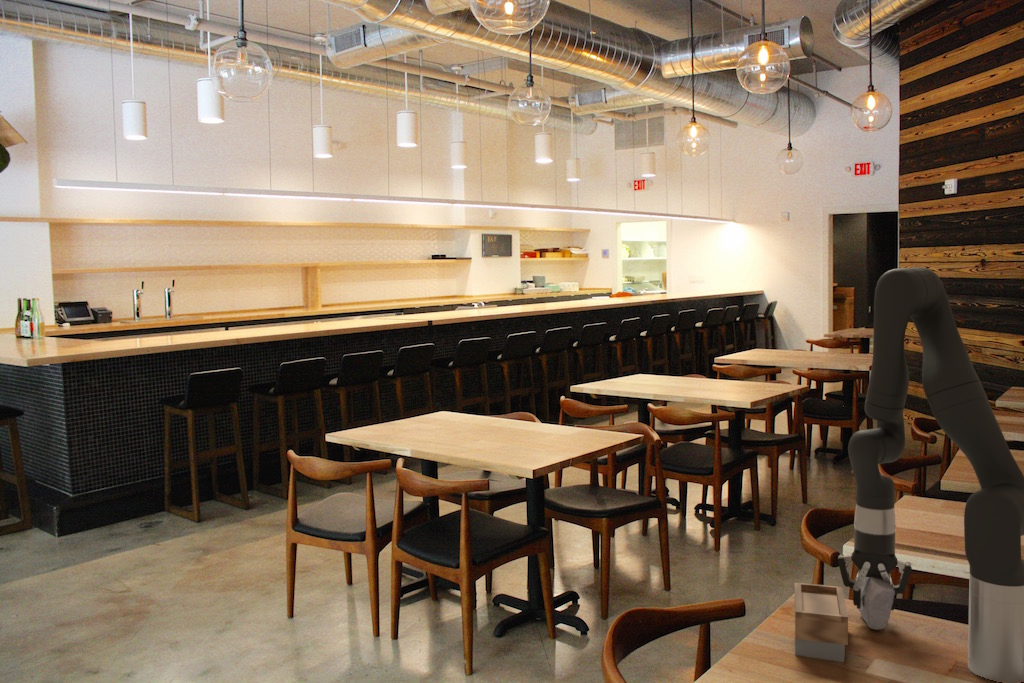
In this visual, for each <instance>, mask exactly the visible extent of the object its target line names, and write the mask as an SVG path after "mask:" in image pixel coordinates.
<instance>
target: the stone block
mask: <svg viewBox="0 0 1024 683" xmlns="http://www.w3.org/2000/svg"><path fill="white" fill-rule="evenodd" d="M860 588H861V609H857V610H858V611H859V613H860V615H861V617H862V618H863V620H864V621H865V622H866V624H867V626H868V628H869V629H872V630H877V631H878V630H880V631H881V630H882V629H886V626H887V624H888V621H889V620H890V618H891V614H892V612H891V611H892V610H891V608H892V604H893V599H894V594H895V591H894V589H893V588H892V586H891V585H890V584H889V583H886V582H884V581H883V579H879V578H876V577H866V576H865V579H864V581H863V582H862V585H861V587H860Z"/></svg>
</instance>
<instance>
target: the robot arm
mask: <svg viewBox="0 0 1024 683" xmlns="http://www.w3.org/2000/svg"><path fill="white" fill-rule="evenodd" d="M874 291H875V292H874V299H873V339H872V340H873V342H872V343H873V346H872V348H873V349H872V359H871V360H872V362H871V370H870V376H869V380H868V386H867V390H866V396H865V401H864V412H865V414H866V416H867V417H869V418H871V420H872V419H873V420H875V421H876V426H875V428H869V429H861V430H858V431H855V432H854V433H853V434H852V436H851V437H850V439H849V442H848V446H847V451H848V452H847V453H848V458H849V462H850V466H851V468H852V473H853V476H854V480H855V484H856V486H855V487H856V488H855V489H856V490H855V492H856V494H855V495H856V496H855V510H854V521H853V525H854V531H853V532H854V533H853V534H854V537H853V538H854V542H853V552H852V553H851V554H849V555H848V554H847V555H844V554H839V555H838V558H837V563H838V567H839V570H840V575H841V580H842V583H843V585H844V586H845V587H849V588H851V590H852V595H853V596H852V598H853V600H852V602H853V606H856V609H857V610H858V609H861V588H860V587H861V585H862V582H863V581H864V579H865V576H866V577H876V578H879V579H883V581H884V582H886V583H889V584H890V585H891V586H892V588H893V589H894V591H895V594H894V599H893V604H892V608H891V611H894V610H895V608H896V605H895V603H896V602H895V600H896V599H895V598H896V595H897V594H900V595H903V594H905V592H906V590H907V586H908V583H909V579H910V577H911V574H912V569H913V568H912V563H911V562H909V561H906V562H905V561H904V562H903V561H901V560H898V558H897V555H896V530H897V525H896V521H897V520H896V519H897V517H896V512H895V501H896V500H895V497H896V489H895V482H894V479H893V478H891V477H889V476H888V475H884V474H881V471H880V468H879V465H883V464H889V463H894V462H896V461H898V460H899V459H900V458H901V456H902V454H904V451H905V447H906V433H905V432H906V430H905V419H904V411H905V405H906V401H907V397H908V391H909V386H910V372H909V366H908V361H907V358H906V352H905V336H906V331H907V327H908V324H909V321H910V319H911V321H912V322H913V324H914V327H915V329H916V332H917V334H918V336H919V338H920V339H919V340H920V343H921V346H922V370H921V382H922V389H923V392H924V395H925V398H926V400H927V402H928V405H929V407H930V410H931V412H932V415H933V417H934V418H935V421H936V422H937V424H938V426H939V427H940V429H941V430H942V431H943V432H944V433H945V435H947V437H948V438H949V439H950V440H951V441H952V443H953V444H955V446H957V447H958V449H959V450H960V451H961V452H962V453H963V455H964V456H965V457H966V458H967V459H968V462H969V463H970V465H971V467H972V469H973V471H974V473H975V476H976V478H977V480H978V483H979V486H980V490H977V491H975V492H973V493H972V494H971V495H970V496H969V497H968V499H967V500H966V503H965V507H964V512H963V513H964V514H963V531H964V532H963V533H964V536H963V537H964V552H965V557H966V560H967V562H968V564H969V565H968V566H969V575H968V576H969V585H968V586H969V587H968V588H969V589H968V629H967V630H968V631H967V632H968V634H967V636H968V638H967V667H968V670H969V671H970V672H971V673H973V674H974V675H975V676H977V675H978V676H977V677H979V676H981V677H980V678H982V677H984V678H986V679H985V680H987V679H991V680H995V681H1000V682H1006V683H1017V682H1021V681H1024V559H1022V537H1023V536H1024V473H1023V472H1022V469H1021V468H1020V466H1019V465H1018V463H1017V461H1016V460H1015V458H1014V456H1013V454H1012V452H1011V449H1010V447H1009V446H1008V443H1007V441H1006V438H1005V436H1004V433H1003V431H1002V429H1001V427H1000V425H999V422H998V419H997V418H996V415H995V414H994V411H993V409H992V406H991V404H990V400H989V399H988V398H989V397H988V395H987V394H986V391H985V389H984V386H983V384H982V382H981V379H980V378H979V376H978V373H977V372H976V369H975V368H974V365H973V363H972V360H971V358H970V356H969V352H968V351H967V348H966V345H965V343H964V341H963V339H962V337H961V334H960V332H959V329H958V326H957V324H956V321H955V317H954V314H953V311H952V307H951V304H950V300H949V298H948V295H947V292H946V289H945V286H944V284H943V282H942V279H941V278H940V277H939V275H938V274H937V273H936V272H934V271H933V270H932V269H929V268H927V267H921V266H916V267H902V268H901V267H900V268H893V269H890V270H887V271H886V272H884V273H883V274H882V275H880V277H879V279H878V280H877V282H876V286H875V289H874ZM851 562H853V564H854V565H855V566H856V568H857V570H858V572H857V574H856V577H855V579H852V578H851V577H850V573H849V569H848V568H849V567H850V565H851ZM897 567H898V571H899V573H900V574H901V575H900V578H899V582H898V584H896V585H894V583H893V581H892V577H891V572H892V571H893V570H894V569H895V568H897ZM984 678H983V679H984Z"/></svg>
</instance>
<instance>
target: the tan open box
mask: <svg viewBox="0 0 1024 683" xmlns="http://www.w3.org/2000/svg"><path fill="white" fill-rule="evenodd" d="M845 597H846V596H845V593H844V587H843V586H839V585H838V586H836V585H826V584H817V583H814V584H813V583H806V582H805V583H804V582H794V640H795V639H799V640H808V641H817V642H826V643H834V644H843V645H845V646H848V645H849V615H848V614H849V613H848V610H847V604H846V598H845Z"/></svg>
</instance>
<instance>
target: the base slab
mask: <svg viewBox="0 0 1024 683" xmlns="http://www.w3.org/2000/svg"><path fill="white" fill-rule="evenodd" d="M845 649H846V645H843V644H834V643H826V642H817V641H808V640H799V639H795V638H794V655H795V656H800V657H807V658H813V659H820V660H828V661H834V662H840V663H845V658H846V657H845V656H846V655H845V654H846V651H845Z"/></svg>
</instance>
